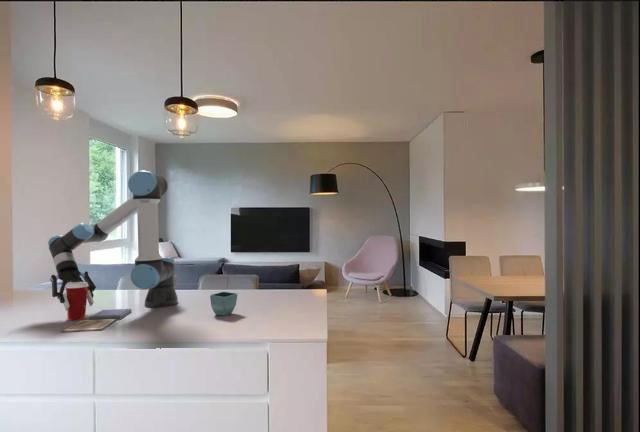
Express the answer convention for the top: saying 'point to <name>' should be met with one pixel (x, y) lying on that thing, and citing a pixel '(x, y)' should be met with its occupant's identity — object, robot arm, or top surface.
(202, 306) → the top surface
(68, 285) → the coffee cup
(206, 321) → the top surface
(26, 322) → the top surface
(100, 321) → the wooden square board
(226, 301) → the flower pot
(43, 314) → the top surface
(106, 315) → the pad
